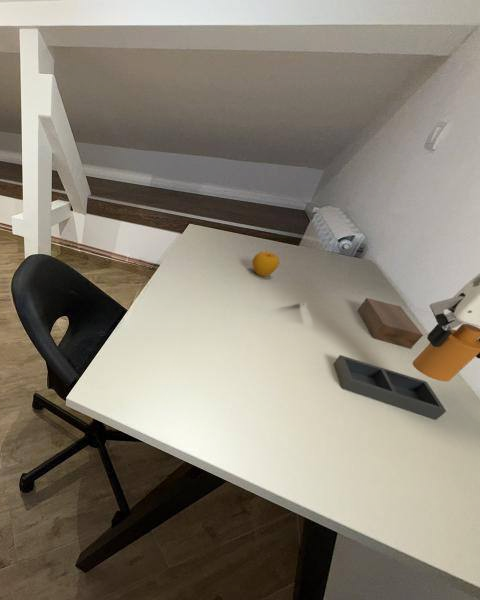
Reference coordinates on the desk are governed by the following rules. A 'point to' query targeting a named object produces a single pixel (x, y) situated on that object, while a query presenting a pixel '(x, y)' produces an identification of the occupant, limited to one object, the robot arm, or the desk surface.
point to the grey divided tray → (388, 387)
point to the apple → (265, 263)
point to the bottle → (449, 354)
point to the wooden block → (389, 323)
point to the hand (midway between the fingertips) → (453, 347)
